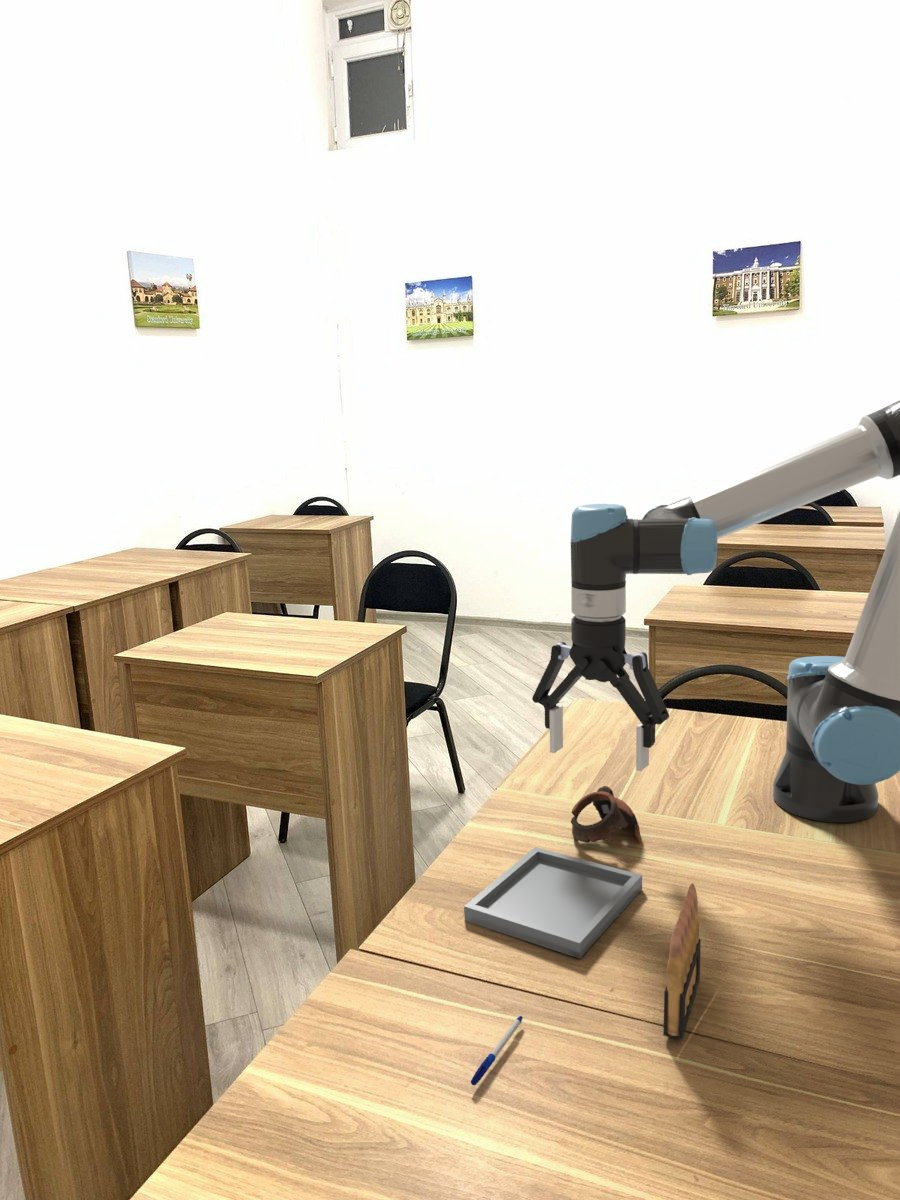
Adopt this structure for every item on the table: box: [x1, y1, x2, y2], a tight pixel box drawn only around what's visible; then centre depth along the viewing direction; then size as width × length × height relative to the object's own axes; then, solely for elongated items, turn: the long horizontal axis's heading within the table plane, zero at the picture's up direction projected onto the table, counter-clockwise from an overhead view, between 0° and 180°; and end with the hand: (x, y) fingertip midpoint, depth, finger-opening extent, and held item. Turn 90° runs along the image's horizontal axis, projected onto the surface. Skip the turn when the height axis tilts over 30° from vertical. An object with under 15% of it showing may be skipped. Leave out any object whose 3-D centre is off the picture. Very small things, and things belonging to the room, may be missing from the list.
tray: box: [463, 846, 643, 959], centre depth 118 cm, size 16×18×2 cm
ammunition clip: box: [663, 882, 701, 1041], centre depth 96 cm, size 11×2×12 cm, turn 156°
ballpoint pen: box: [470, 1015, 524, 1086], centre depth 92 cm, size 10×1×1 cm, turn 151°
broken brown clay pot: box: [570, 785, 643, 844], centre depth 135 cm, size 12×10×8 cm
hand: (598, 758), depth 133 cm, fingers open, 13 cm apart
